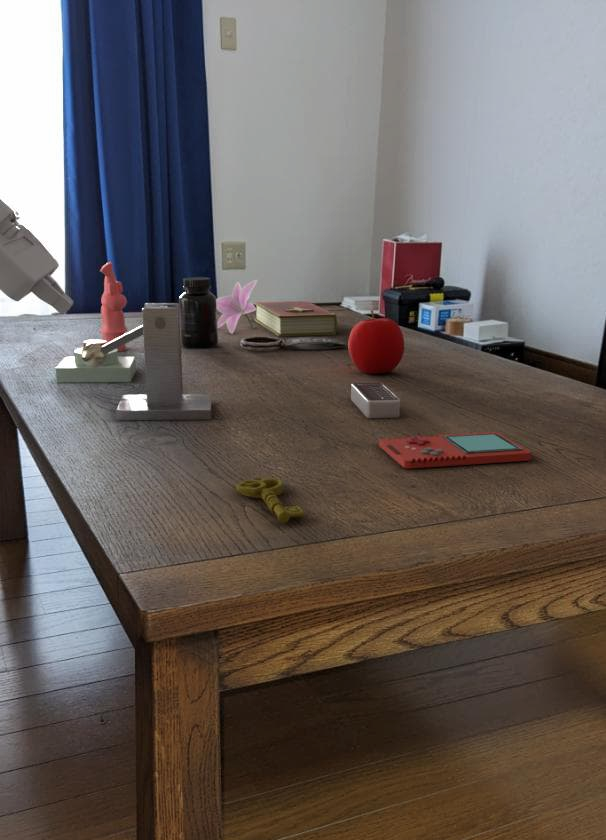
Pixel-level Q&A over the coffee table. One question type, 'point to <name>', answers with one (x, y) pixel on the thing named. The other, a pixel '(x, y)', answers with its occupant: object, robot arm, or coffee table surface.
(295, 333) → the book
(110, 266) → the figurine
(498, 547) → the coffee table surface
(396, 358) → the fruit
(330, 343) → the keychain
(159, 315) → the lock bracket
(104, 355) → the lock lever
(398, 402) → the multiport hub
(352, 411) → the coffee table surface
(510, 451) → the handheld gaming console
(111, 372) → the box
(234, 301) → the lily
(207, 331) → the supplement bottle
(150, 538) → the coffee table surface
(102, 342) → the button
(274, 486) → the key
